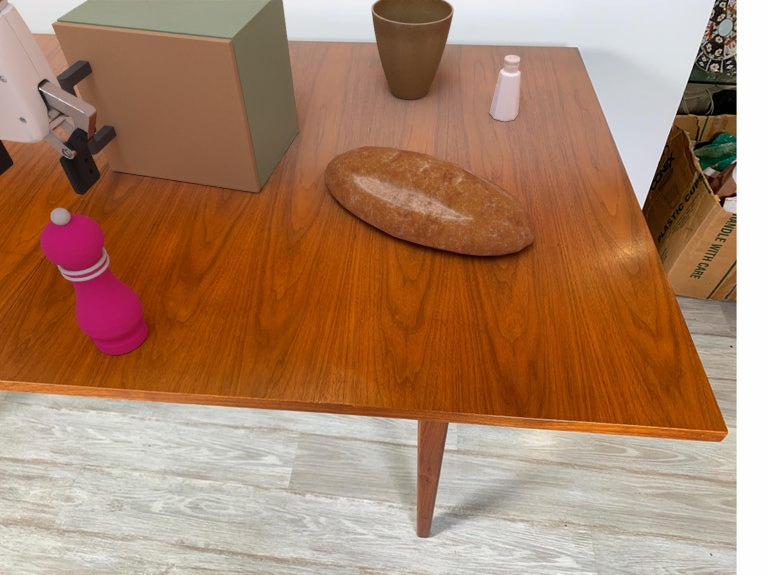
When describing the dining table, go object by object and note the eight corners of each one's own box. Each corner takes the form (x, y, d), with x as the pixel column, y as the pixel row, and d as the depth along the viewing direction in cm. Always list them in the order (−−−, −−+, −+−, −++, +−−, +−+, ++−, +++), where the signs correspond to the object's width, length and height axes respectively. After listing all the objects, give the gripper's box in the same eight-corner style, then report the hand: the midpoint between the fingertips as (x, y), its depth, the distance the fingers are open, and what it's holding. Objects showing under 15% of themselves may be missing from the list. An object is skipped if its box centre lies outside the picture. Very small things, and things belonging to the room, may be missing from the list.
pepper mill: (142, 359, 70) (79, 233, 56) (83, 359, 70) (4, 233, 56) (159, 314, 75) (105, 188, 61) (103, 314, 75) (36, 188, 61)
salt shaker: (517, 108, 111) (527, 51, 103) (518, 122, 107) (529, 65, 99) (488, 106, 112) (496, 50, 104) (489, 121, 108) (497, 63, 100)
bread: (503, 289, 78) (513, 239, 71) (296, 202, 91) (289, 154, 85) (552, 218, 88) (564, 169, 82) (359, 150, 101) (357, 103, 95)
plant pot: (441, 113, 110) (447, 27, 98) (364, 104, 112) (362, 20, 101) (452, 77, 120) (459, -5, 109) (382, 70, 122) (381, -11, 111)
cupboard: (261, 189, 94) (232, 37, 76) (115, 167, 98) (56, 19, 81) (299, 131, 106) (281, -11, 88) (167, 114, 110) (126, -25, 93)
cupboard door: (243, 215, 89) (208, 62, 71) (91, 191, 93) (23, 41, 76) (260, 189, 93) (231, 39, 76) (114, 167, 98) (55, 21, 80)
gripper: (-194, 0, 42) (-60, 190, 55) (9, 20, 39) (102, 216, 52) (-111, -34, 47) (-6, 147, 60) (75, -19, 44) (145, 168, 57)
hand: (44, 179), depth 56 cm, fingers open, 9 cm apart
